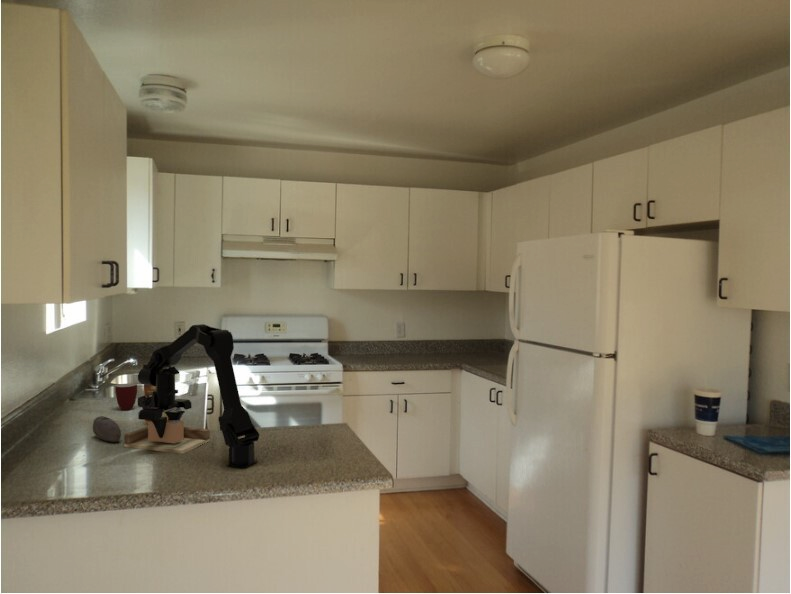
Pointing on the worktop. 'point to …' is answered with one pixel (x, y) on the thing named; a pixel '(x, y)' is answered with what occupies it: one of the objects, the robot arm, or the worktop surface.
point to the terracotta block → (167, 432)
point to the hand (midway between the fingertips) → (166, 435)
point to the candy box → (148, 393)
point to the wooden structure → (191, 441)
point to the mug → (126, 395)
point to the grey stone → (106, 429)
